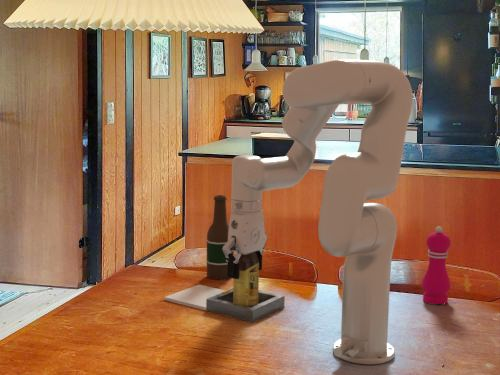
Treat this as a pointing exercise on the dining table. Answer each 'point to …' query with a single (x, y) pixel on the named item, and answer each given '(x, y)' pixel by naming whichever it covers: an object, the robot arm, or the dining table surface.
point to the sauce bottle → (247, 281)
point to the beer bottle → (217, 241)
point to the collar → (251, 314)
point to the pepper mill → (436, 269)
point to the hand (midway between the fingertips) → (244, 273)
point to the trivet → (194, 296)
